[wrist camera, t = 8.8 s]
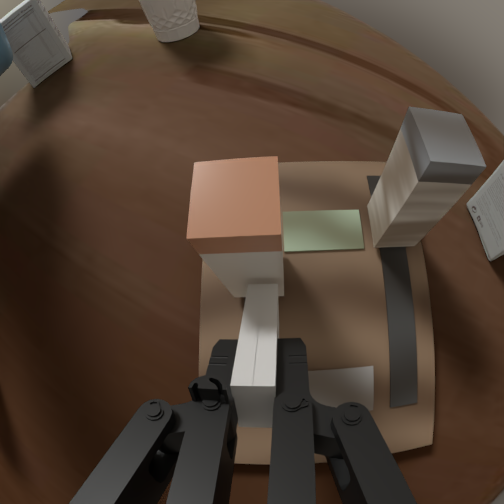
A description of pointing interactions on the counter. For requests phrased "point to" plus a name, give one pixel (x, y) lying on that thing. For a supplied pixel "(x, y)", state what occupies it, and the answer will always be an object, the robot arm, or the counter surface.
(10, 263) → the counter surface
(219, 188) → the tab
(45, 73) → the supplement box
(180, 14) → the white cup
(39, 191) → the counter surface
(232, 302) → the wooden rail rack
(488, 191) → the skincare box
